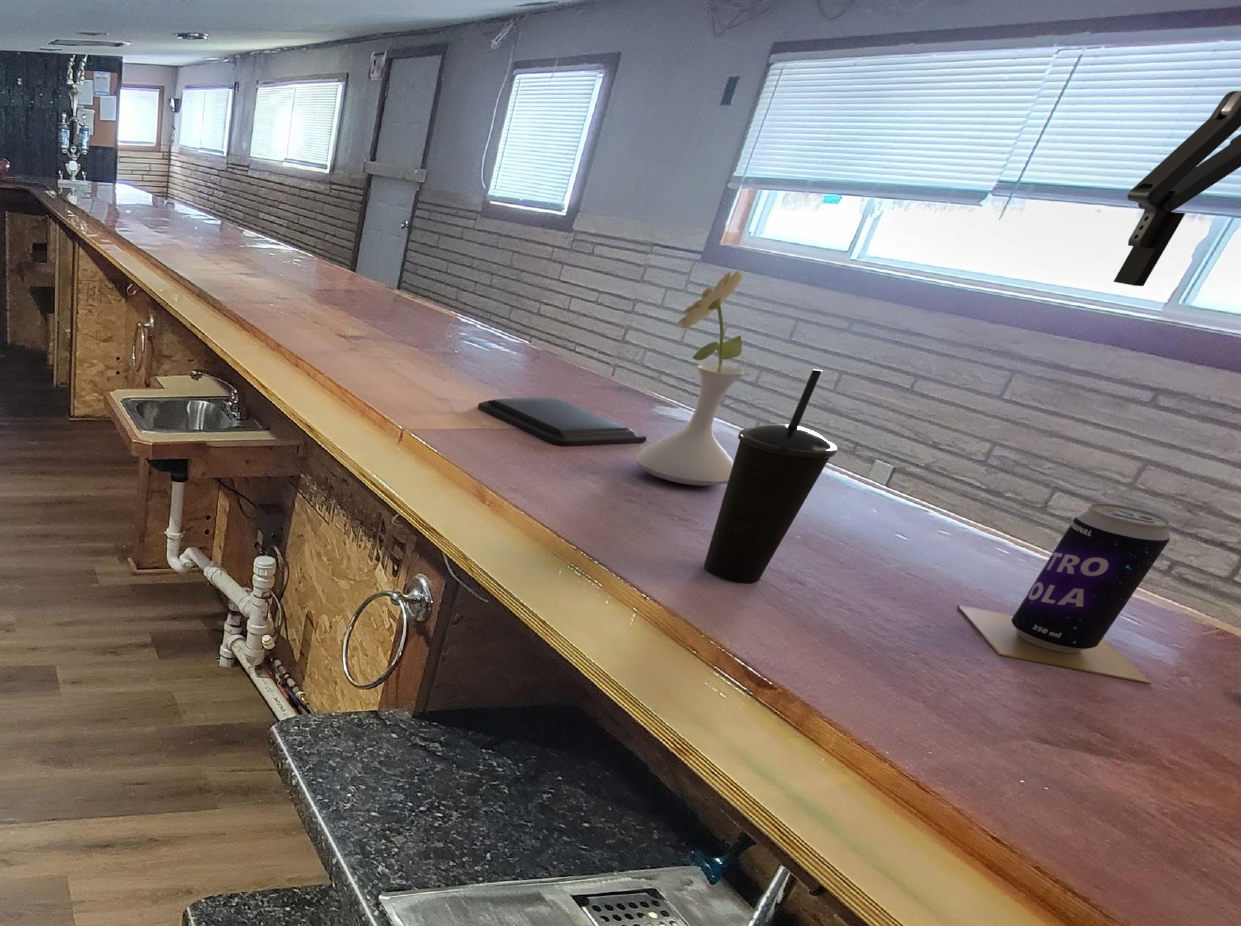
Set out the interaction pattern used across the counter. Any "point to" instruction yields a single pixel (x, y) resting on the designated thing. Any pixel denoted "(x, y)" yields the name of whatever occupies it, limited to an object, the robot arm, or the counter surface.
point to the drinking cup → (765, 493)
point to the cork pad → (1010, 644)
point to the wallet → (560, 421)
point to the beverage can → (1091, 576)
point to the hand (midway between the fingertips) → (1207, 289)
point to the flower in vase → (700, 406)
